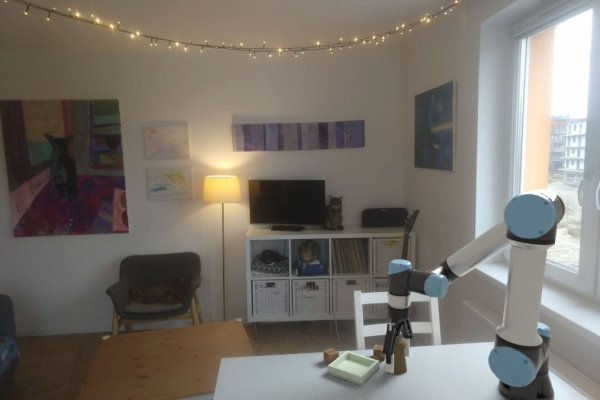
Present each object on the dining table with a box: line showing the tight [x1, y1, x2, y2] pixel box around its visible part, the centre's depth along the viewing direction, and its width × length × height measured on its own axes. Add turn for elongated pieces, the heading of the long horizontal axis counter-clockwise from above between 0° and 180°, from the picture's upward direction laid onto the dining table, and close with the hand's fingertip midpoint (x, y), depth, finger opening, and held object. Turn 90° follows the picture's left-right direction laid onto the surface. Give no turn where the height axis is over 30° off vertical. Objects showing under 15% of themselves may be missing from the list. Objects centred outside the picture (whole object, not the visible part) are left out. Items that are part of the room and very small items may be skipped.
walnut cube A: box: [372, 344, 386, 362], centre depth 150 cm, size 4×4×4 cm
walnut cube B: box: [323, 347, 340, 366], centre depth 147 cm, size 4×4×4 cm
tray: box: [327, 350, 380, 387], centre depth 141 cm, size 13×13×3 cm
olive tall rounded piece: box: [393, 337, 408, 375], centre depth 141 cm, size 6×6×11 cm
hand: (397, 363), depth 141 cm, fingers open, 13 cm apart
